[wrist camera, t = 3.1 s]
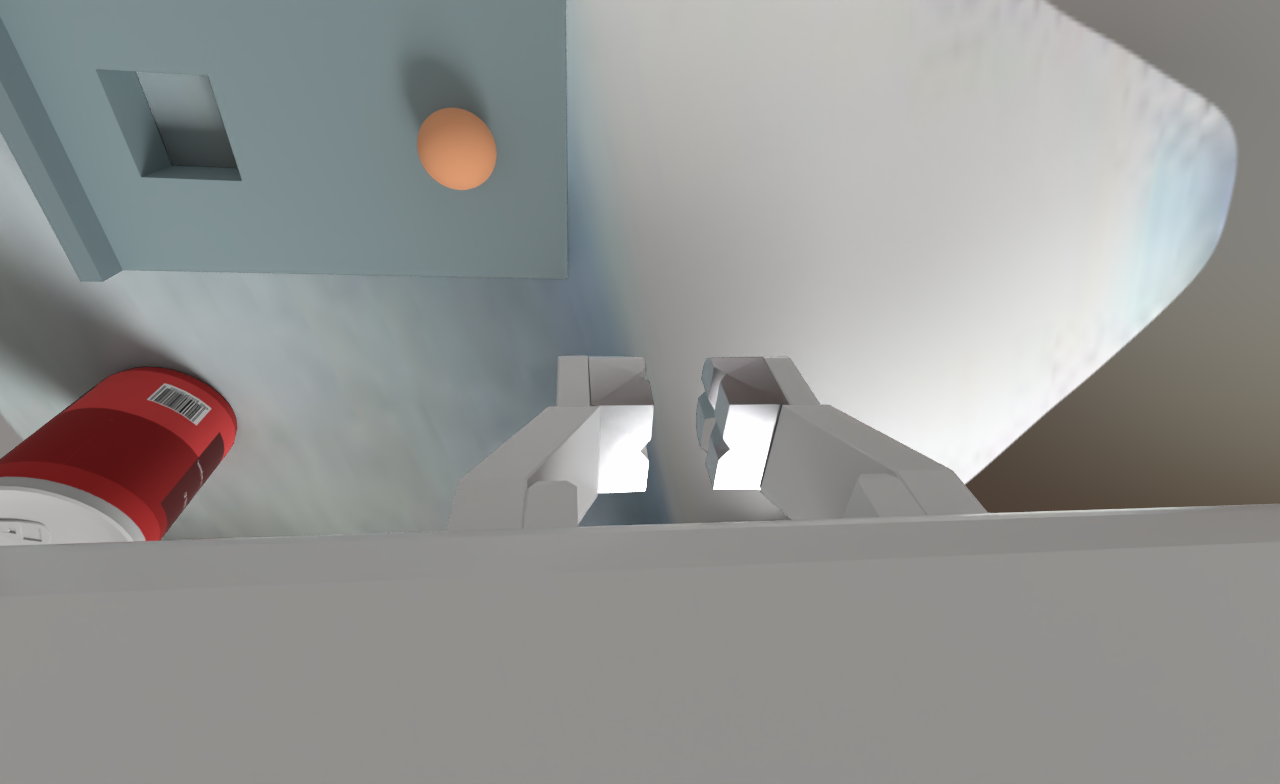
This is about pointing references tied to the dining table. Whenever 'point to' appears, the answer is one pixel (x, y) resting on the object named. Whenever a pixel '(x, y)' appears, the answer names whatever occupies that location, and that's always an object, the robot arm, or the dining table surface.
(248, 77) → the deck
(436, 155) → the ball
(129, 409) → the canned food
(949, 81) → the dining table surface
